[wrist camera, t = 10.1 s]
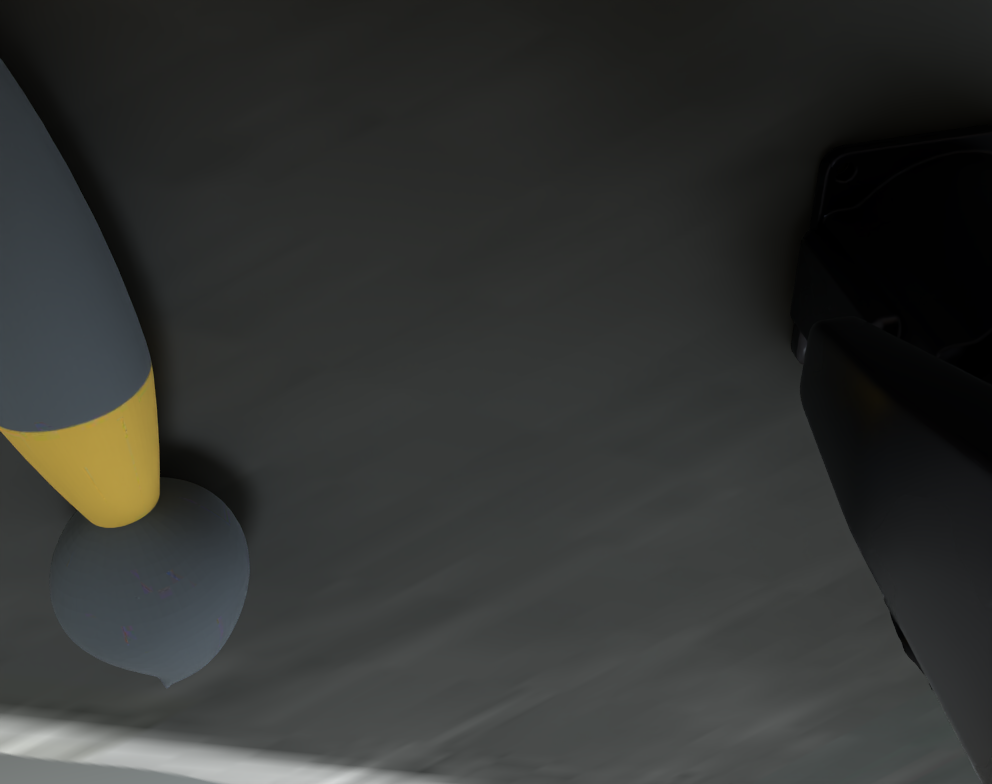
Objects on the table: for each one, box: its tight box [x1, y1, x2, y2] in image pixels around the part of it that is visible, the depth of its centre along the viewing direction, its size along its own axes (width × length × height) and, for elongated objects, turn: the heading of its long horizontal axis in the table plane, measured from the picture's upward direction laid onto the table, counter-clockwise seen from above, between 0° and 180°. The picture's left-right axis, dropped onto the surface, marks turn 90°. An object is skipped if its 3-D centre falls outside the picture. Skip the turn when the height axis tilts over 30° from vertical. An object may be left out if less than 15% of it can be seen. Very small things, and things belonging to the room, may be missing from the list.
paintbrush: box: [0, 58, 250, 688], centre depth 22 cm, size 20×5×5 cm, turn 9°
